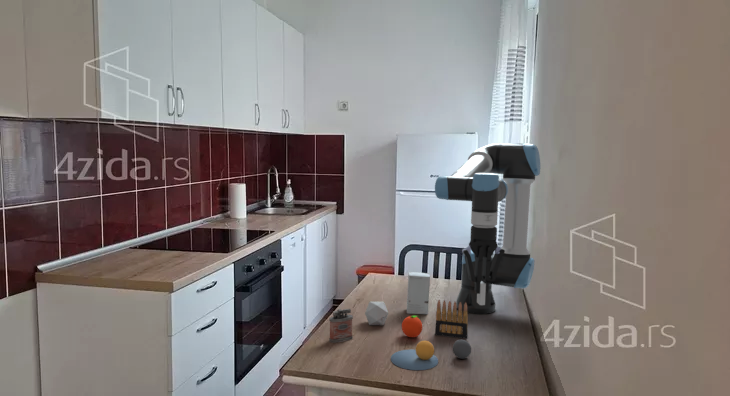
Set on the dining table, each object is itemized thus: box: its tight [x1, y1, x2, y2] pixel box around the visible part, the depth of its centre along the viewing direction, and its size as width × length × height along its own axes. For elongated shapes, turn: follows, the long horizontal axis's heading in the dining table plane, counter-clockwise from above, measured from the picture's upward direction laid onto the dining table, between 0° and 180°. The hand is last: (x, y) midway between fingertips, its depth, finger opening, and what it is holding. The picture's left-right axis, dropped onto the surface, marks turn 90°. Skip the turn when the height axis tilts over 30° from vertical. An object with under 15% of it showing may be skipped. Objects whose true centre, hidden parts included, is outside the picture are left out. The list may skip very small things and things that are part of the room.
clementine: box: [401, 315, 423, 338], centre depth 165 cm, size 8×7×7 cm
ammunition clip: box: [434, 299, 469, 340], centre depth 166 cm, size 11×2×12 cm, turn 74°
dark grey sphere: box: [452, 339, 472, 360], centre depth 149 cm, size 6×6×6 cm
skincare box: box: [406, 271, 431, 315], centre depth 189 cm, size 8×6×15 cm
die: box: [364, 301, 389, 326], centre depth 176 cm, size 8×9×10 cm
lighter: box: [328, 308, 354, 343], centre depth 161 cm, size 8×3×10 cm, turn 117°
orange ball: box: [415, 340, 435, 360], centre depth 147 cm, size 6×6×6 cm
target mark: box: [390, 348, 439, 371], centre depth 147 cm, size 14×14×1 cm
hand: (480, 303), depth 148 cm, fingers closed
